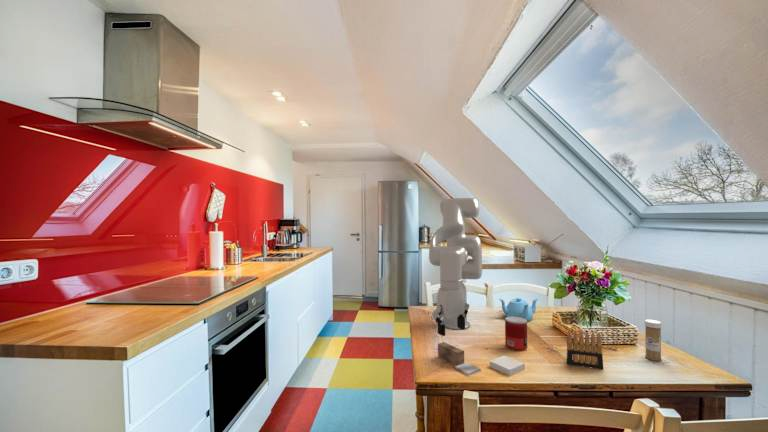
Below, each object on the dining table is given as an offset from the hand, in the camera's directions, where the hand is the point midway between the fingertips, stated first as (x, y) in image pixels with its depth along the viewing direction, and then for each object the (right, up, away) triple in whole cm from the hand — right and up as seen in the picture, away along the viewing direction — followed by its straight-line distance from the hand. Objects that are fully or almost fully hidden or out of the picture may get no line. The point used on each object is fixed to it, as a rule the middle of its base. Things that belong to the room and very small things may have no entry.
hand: (451, 331), depth 119 cm
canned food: (+28, -10, +11) cm, 32 cm away
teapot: (+44, -10, +47) cm, 65 cm away
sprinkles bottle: (+72, -10, 0) cm, 73 cm away
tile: (+15, -9, -3) cm, 18 cm away
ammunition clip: (+44, -10, -5) cm, 46 cm away
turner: (+1, -10, -3) cm, 11 cm away
